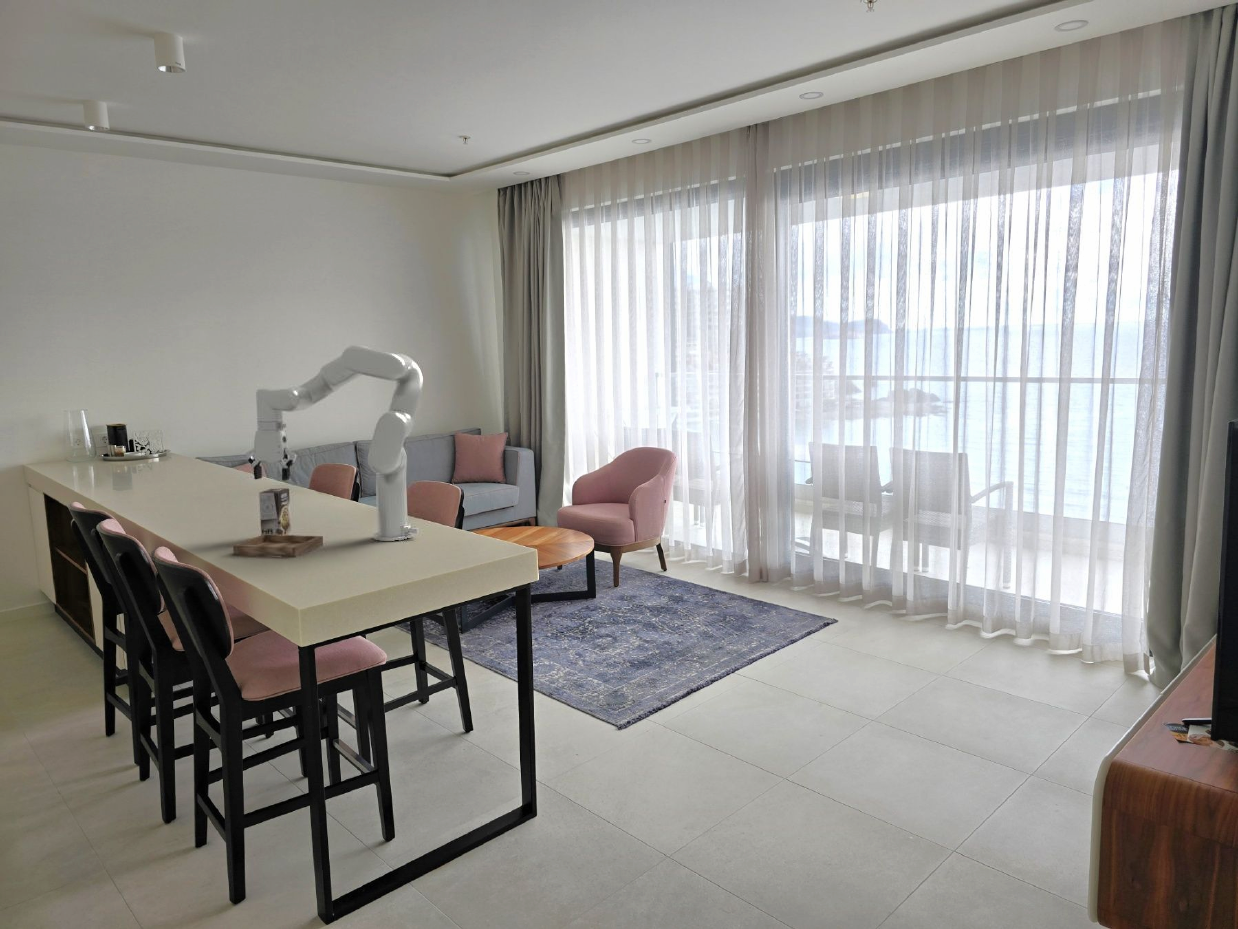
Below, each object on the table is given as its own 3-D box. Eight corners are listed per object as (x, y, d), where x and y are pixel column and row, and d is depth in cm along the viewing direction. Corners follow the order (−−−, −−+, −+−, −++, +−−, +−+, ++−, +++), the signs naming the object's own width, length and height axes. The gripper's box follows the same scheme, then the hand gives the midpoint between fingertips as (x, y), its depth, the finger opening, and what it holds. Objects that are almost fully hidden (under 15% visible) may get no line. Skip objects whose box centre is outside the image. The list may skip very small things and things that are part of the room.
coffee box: (280, 542, 261) (277, 492, 259) (260, 541, 262) (257, 492, 260) (292, 535, 270) (290, 487, 268) (273, 535, 271) (270, 487, 269)
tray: (323, 545, 256) (322, 536, 256) (295, 557, 240) (295, 547, 240) (264, 543, 259) (264, 534, 259) (233, 555, 243) (233, 545, 243)
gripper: (301, 426, 264) (303, 478, 266) (252, 425, 266) (254, 476, 268) (288, 428, 256) (290, 482, 259) (238, 426, 259) (240, 480, 261)
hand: (272, 479), depth 264 cm, fingers open, 9 cm apart
